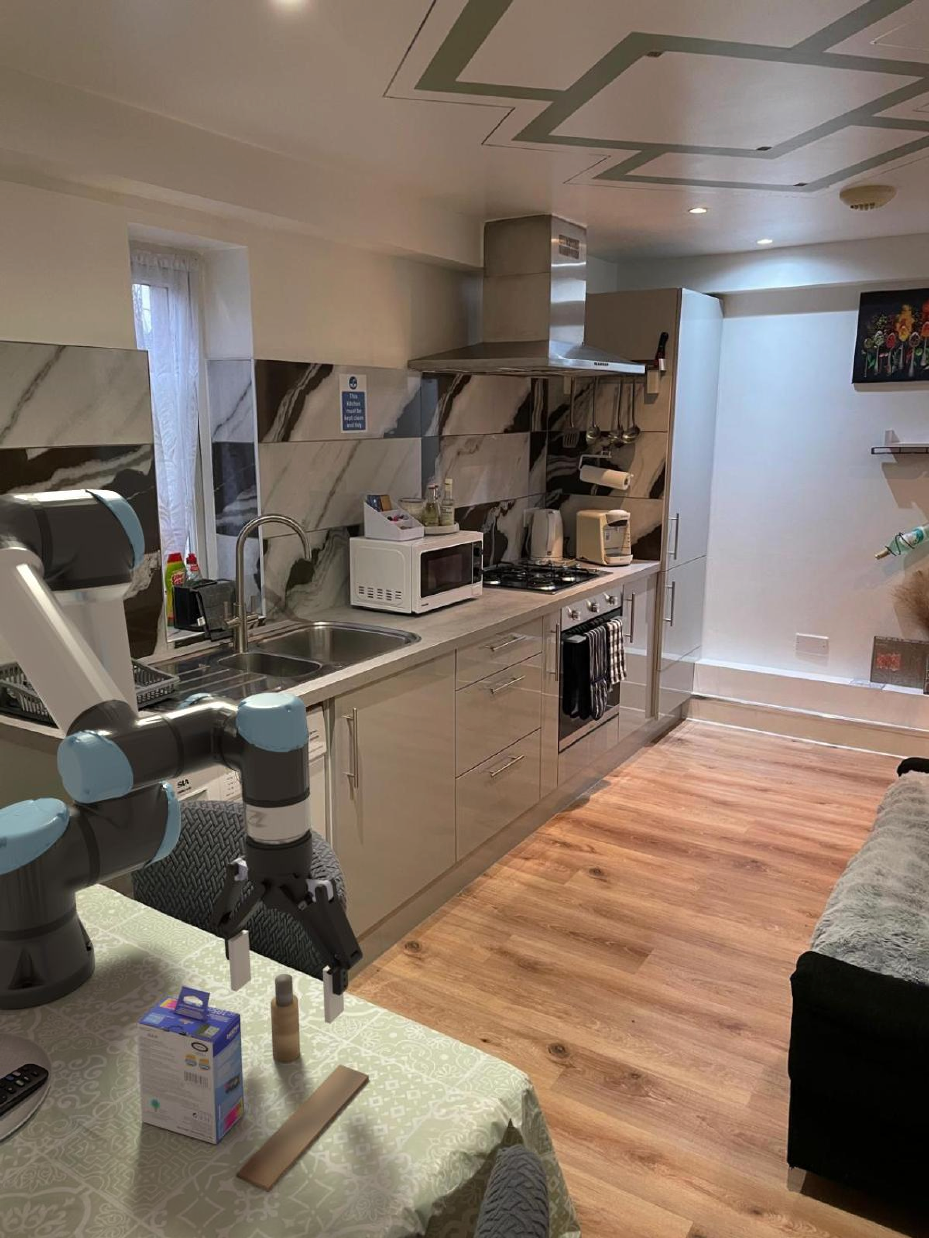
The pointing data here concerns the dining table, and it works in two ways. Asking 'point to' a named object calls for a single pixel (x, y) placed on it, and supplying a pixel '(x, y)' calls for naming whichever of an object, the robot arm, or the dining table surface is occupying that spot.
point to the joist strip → (302, 1128)
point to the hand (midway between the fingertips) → (286, 1000)
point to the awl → (285, 1021)
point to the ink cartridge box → (191, 1067)
